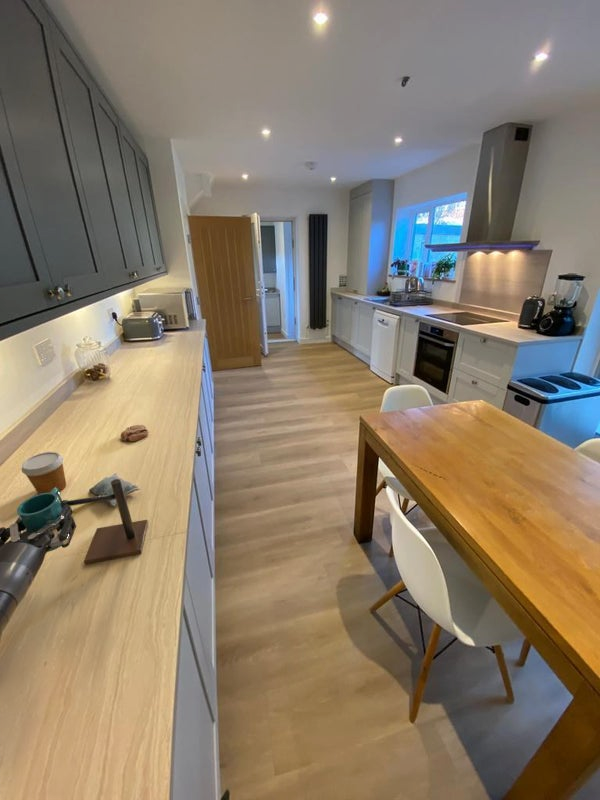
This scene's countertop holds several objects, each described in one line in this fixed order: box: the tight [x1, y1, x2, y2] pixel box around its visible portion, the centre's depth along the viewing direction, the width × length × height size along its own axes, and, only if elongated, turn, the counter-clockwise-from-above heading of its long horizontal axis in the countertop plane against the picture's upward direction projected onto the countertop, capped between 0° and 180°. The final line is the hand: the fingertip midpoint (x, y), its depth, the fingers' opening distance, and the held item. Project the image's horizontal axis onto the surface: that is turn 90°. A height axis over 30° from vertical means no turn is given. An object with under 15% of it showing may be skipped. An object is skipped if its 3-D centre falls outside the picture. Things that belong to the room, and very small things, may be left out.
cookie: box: [120, 424, 149, 442], centre depth 126 cm, size 10×11×3 cm
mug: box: [16, 488, 63, 553], centre depth 69 cm, size 11×7×10 cm, turn 15°
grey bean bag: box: [88, 473, 141, 507], centre depth 94 cm, size 9×12×5 cm
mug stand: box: [61, 479, 149, 565], centre depth 76 cm, size 15×10×18 cm, turn 105°
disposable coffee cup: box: [21, 451, 67, 495], centre depth 93 cm, size 10×10×12 cm
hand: (48, 510), depth 69 cm, fingers closed on mug, 6 cm apart
